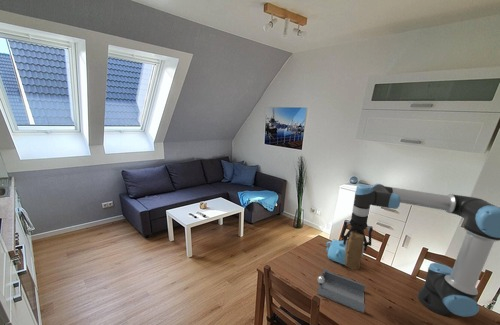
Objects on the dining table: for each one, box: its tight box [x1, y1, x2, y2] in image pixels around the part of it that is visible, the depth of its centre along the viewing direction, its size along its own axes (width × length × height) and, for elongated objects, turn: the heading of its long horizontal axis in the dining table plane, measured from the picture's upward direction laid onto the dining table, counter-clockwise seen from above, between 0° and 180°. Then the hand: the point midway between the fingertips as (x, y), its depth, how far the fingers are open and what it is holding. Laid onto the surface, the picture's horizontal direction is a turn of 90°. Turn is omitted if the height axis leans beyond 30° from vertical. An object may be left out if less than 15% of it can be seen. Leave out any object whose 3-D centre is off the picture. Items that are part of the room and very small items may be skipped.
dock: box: [317, 267, 366, 314], centre depth 121 cm, size 25×17×10 cm
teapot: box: [326, 239, 346, 266], centre depth 151 cm, size 18×16×14 cm
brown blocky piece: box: [344, 230, 364, 270], centre depth 115 cm, size 11×8×20 cm
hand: (353, 252), depth 115 cm, fingers closed on brown blocky piece, 7 cm apart
